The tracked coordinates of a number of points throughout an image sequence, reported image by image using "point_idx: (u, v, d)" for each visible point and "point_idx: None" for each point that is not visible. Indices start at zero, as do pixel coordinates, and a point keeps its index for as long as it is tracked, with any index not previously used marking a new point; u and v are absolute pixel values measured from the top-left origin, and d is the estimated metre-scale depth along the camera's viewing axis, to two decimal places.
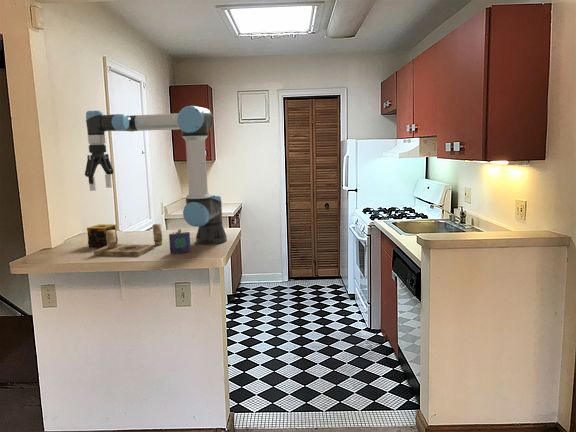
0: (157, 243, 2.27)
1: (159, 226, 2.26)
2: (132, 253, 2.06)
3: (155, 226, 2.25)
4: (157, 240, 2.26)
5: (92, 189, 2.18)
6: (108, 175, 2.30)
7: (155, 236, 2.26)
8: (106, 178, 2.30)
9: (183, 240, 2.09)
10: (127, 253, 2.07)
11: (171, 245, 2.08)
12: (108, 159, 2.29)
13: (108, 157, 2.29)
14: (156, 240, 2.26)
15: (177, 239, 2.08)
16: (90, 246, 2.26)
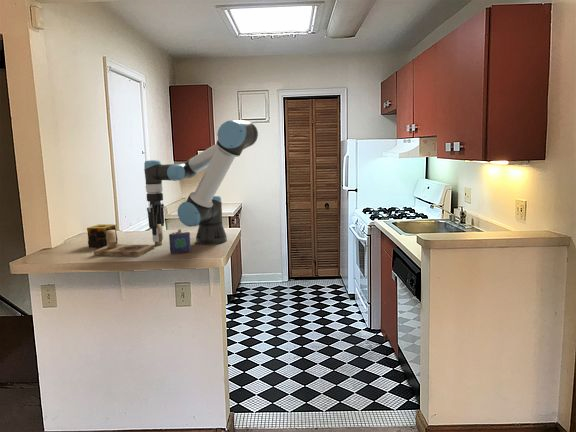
0: (157, 243, 2.27)
1: (159, 226, 2.26)
2: (132, 253, 2.06)
3: None
4: None
5: (155, 240, 2.26)
6: None
7: None
8: None
9: (183, 240, 2.09)
10: (127, 253, 2.07)
11: (171, 245, 2.08)
12: (163, 209, 2.31)
13: (163, 207, 2.31)
14: None
15: (177, 239, 2.08)
16: (90, 246, 2.26)
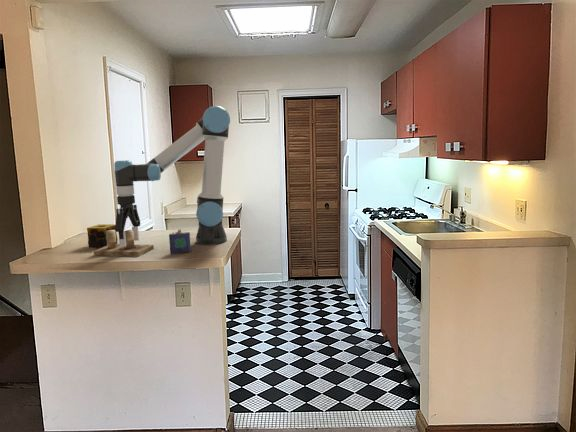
0: None
1: (131, 232, 2.12)
2: (132, 253, 2.06)
3: (126, 232, 2.11)
4: (129, 247, 2.12)
5: (122, 244, 2.07)
6: (135, 227, 2.18)
7: (126, 243, 2.12)
8: (133, 231, 2.18)
9: (183, 240, 2.09)
10: (127, 253, 2.07)
11: (171, 245, 2.08)
12: (136, 210, 2.17)
13: (136, 208, 2.17)
14: (128, 247, 2.12)
15: (177, 239, 2.08)
16: (90, 246, 2.26)
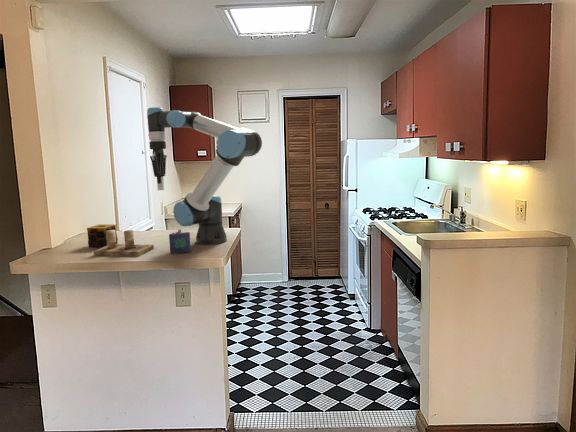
0: None
1: (131, 232, 2.12)
2: (132, 253, 2.06)
3: (126, 233, 2.11)
4: (129, 247, 2.12)
5: (160, 189, 2.26)
6: None
7: (126, 243, 2.12)
8: None
9: (183, 240, 2.09)
10: (127, 253, 2.07)
11: (171, 245, 2.08)
12: (165, 159, 2.29)
13: (165, 158, 2.30)
14: (127, 247, 2.12)
15: (177, 239, 2.08)
16: (90, 246, 2.26)
